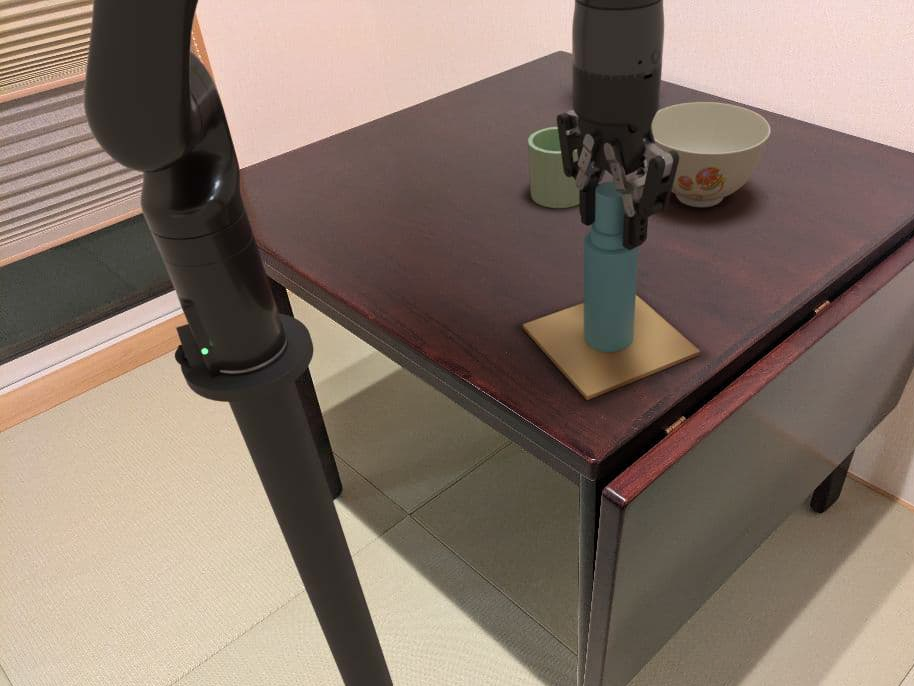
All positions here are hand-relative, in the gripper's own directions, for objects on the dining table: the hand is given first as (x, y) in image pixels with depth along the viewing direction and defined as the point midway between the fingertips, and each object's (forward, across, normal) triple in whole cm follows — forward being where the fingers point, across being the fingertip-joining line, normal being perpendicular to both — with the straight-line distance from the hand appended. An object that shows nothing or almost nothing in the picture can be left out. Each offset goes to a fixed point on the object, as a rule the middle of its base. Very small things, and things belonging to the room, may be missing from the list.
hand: (612, 233), depth 77 cm
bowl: (+14, -16, +31) cm, 38 cm away
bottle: (+13, 0, 0) cm, 13 cm away
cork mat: (+13, 0, 0) cm, 13 cm away
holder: (+13, -29, +17) cm, 37 cm away
